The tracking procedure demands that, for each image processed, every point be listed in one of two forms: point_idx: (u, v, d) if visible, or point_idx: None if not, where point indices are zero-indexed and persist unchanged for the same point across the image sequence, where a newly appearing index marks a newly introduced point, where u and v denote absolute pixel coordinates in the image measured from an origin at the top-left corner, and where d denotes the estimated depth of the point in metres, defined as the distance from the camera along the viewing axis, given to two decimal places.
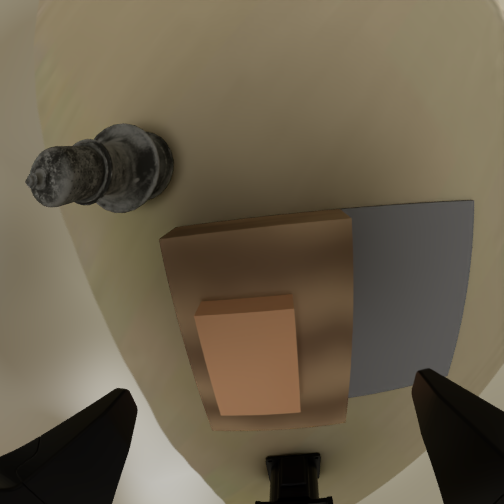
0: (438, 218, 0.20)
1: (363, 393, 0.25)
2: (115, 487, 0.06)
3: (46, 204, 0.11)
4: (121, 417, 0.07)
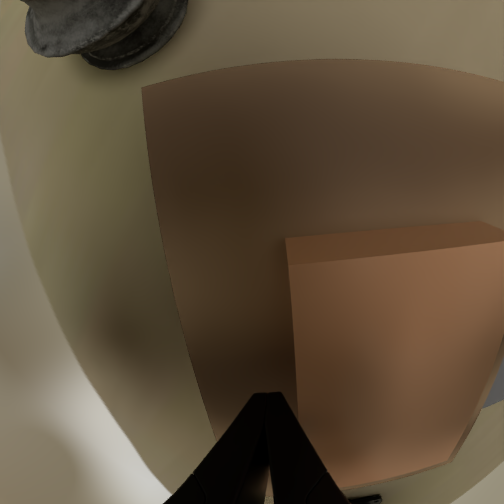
0: None
1: None
2: None
3: None
4: None
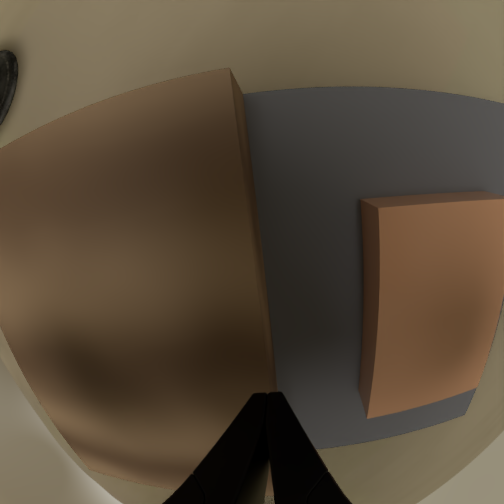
0: (454, 124, 0.09)
1: (322, 446, 0.14)
2: None
3: None
4: None
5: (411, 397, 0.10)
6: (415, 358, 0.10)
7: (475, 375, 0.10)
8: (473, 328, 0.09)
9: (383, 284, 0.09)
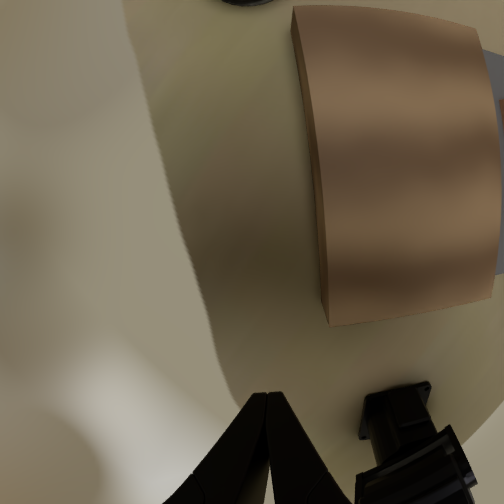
0: None
1: None
2: None
3: None
4: None
5: None
6: None
7: None
8: None
9: None
